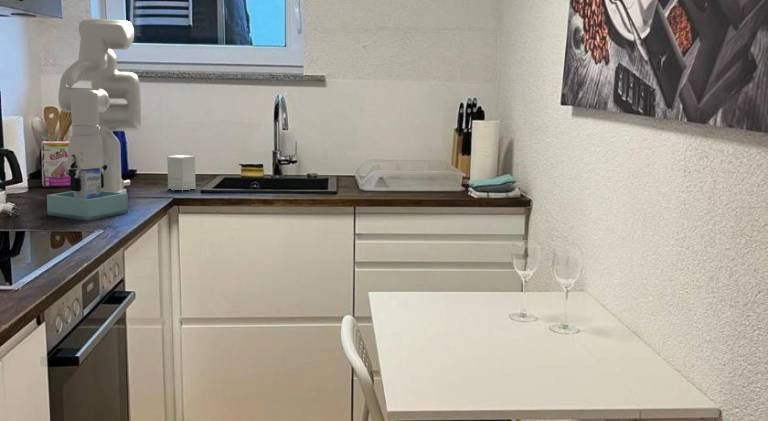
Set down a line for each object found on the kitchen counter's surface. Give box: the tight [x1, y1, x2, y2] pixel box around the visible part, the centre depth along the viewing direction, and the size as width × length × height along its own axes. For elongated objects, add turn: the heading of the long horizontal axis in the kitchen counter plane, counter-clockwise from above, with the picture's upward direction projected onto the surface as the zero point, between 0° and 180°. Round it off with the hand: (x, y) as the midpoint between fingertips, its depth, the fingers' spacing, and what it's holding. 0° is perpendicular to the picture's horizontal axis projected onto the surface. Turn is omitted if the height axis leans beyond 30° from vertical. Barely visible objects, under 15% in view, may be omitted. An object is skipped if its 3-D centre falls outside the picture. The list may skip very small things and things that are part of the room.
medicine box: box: [74, 169, 101, 199], centre depth 226 cm, size 8×4×9 cm, turn 168°
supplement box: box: [167, 154, 196, 192], centre depth 280 cm, size 7×7×13 cm
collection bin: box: [46, 190, 129, 222], centre depth 227 cm, size 16×16×6 cm
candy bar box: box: [40, 140, 71, 188], centre depth 279 cm, size 11×5×16 cm, turn 121°
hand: (87, 189), depth 226 cm, fingers closed on medicine box, 8 cm apart
